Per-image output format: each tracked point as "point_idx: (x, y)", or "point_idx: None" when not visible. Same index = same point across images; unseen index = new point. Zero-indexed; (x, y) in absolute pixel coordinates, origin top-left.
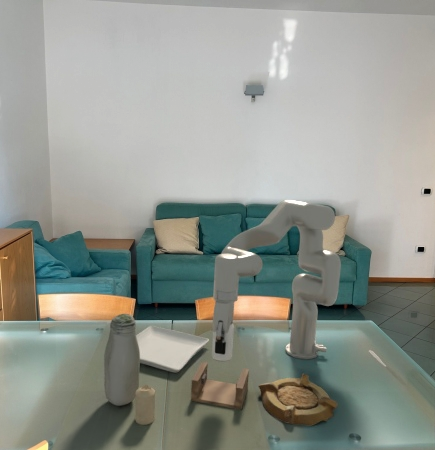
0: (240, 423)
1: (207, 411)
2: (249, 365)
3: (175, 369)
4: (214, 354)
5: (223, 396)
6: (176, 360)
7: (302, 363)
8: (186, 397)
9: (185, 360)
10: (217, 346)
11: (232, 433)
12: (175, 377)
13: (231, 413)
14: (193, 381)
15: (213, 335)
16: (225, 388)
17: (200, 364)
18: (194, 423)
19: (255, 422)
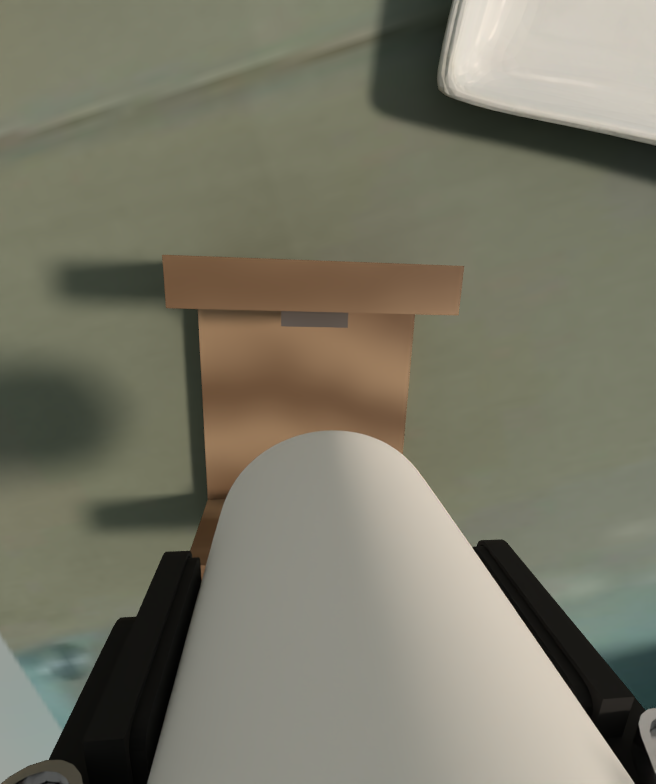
0: (106, 535)
1: (135, 374)
2: (614, 483)
3: (447, 56)
4: (229, 503)
5: (267, 432)
6: (628, 28)
7: (650, 680)
8: (221, 226)
9: (617, 101)
10: (80, 697)
11: (17, 518)
12: (420, 88)
13: (166, 485)
14: (165, 271)
15: (243, 717)
16: (346, 426)
17: (420, 264)
18: (4, 335)
19: (141, 587)
